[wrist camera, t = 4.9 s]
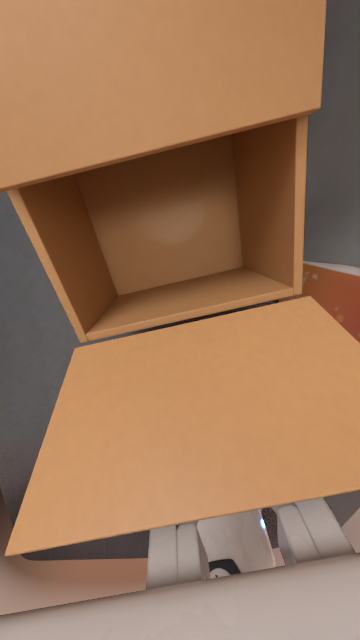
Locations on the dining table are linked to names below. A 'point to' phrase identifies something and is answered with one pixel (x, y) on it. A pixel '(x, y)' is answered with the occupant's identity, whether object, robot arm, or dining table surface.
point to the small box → (334, 292)
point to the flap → (197, 426)
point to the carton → (160, 151)
